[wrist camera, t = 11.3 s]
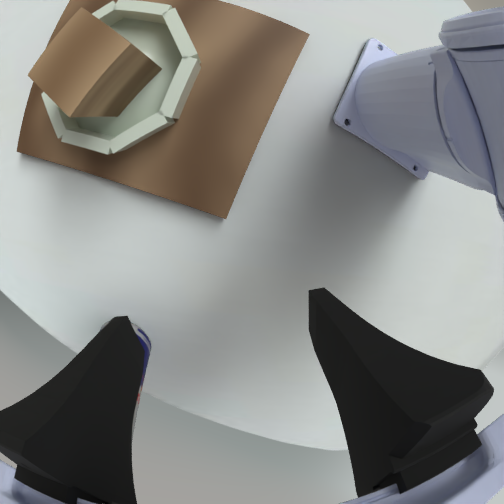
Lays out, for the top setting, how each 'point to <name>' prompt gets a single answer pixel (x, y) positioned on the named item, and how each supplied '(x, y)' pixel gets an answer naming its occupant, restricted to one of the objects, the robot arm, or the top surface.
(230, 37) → the walnut board
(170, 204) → the top surface
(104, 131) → the octagonal green bowl
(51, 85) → the brown wooden block
